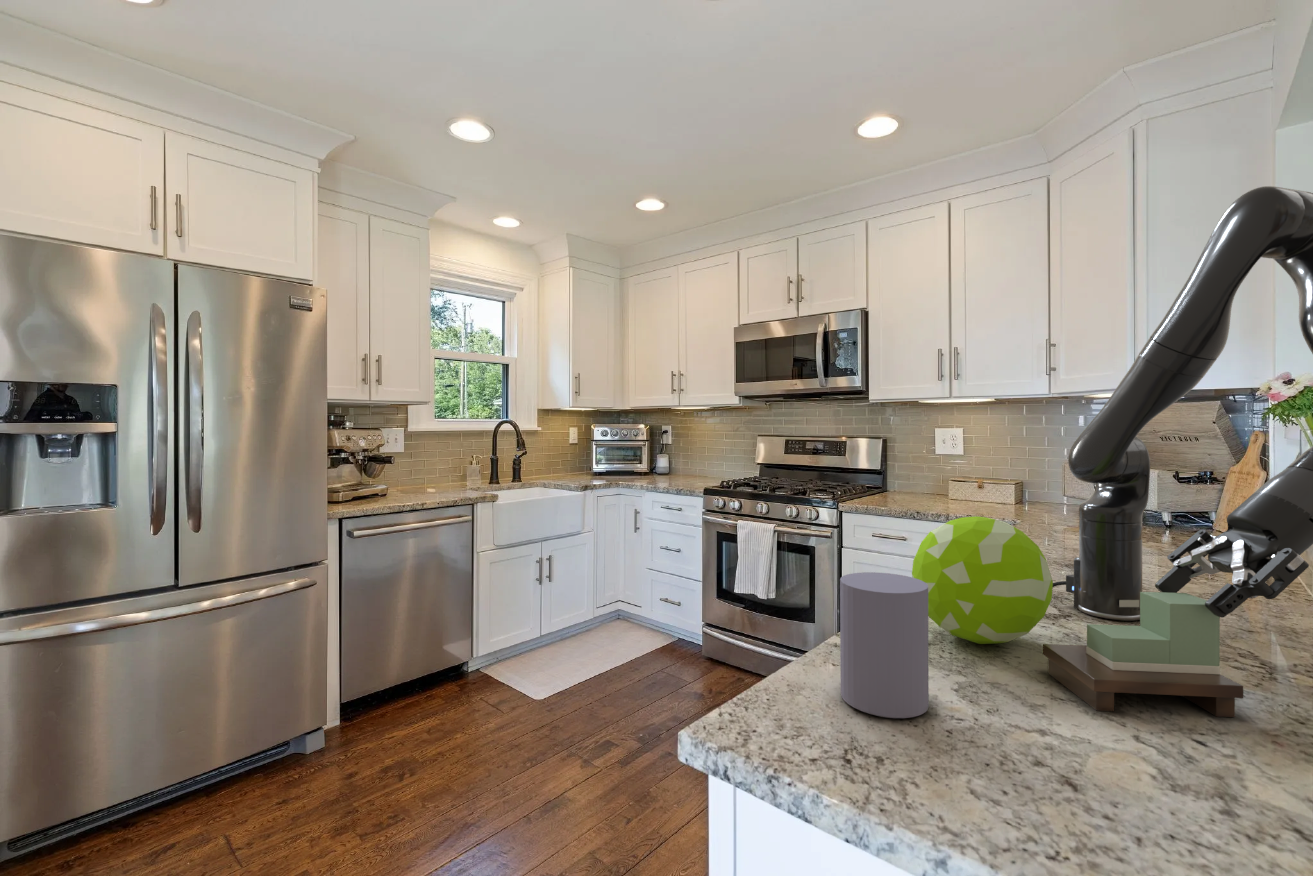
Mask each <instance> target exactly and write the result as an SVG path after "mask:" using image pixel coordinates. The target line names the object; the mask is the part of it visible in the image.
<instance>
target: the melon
mask: <svg viewBox="0 0 1313 876" xmlns="http://www.w3.org/2000/svg"><path fill="white" fill-rule="evenodd" d="M911 577H912V578H916V579H919V580H921V581H923V582H925V583H927V584H928V618H930V619H931V620H932V621H933V622H934V623H935V624H936V625H937V626H938V627H939V628H941V629H942V630H943V631H945V632H947V633H948V634H949V635H951V636H953V637H956V638H960V639H962V640H966V641H968V642H971V643H975V644H978V645H993V644H994V645H995V644H1003V643H1008V642H1011V641H1014V640H1016V639H1018V638H1021V637H1023V636H1025V635H1027V634H1029V633H1030V632H1031V631H1032V630H1033V629H1034V628H1035V627H1036V626H1037V624H1039V622H1041V621H1042V620H1043V618H1045V615H1046V613H1047V611H1048V609H1049V606H1050V604H1051V602H1052V600H1053V599H1052V598H1053V588H1054V587H1053V583H1054V581H1053V577H1052V574H1051V570H1050V567H1049V563H1048V560H1047V558H1046V557H1045V555H1044V553H1043V552H1042V549H1040V547H1039V545H1038V544H1037V543H1035V542H1034V541H1033V539H1031V537H1030V536H1028V535H1027V534H1026V533H1025V532H1024V531H1022V530H1021V529H1019V528H1017V527H1015V526H1013V525H1011V524H1010V523H1008V522H1006V521H1003V520H999V519H995V518H991V517H986V516H977V515H975V516H965V517H964V516H962V517H958V518H955V519H951V520H948V521H947V522H945V523H943V524H941V525H940V526H937V527H936V528H934V529H932V530H930V531H929V532H928V533H927V535H926V536H925V537H924V538H923V540H921V542H920V544H919V547H918V549H917V551H916V553H915V555H914V558H913V560H912V567H911ZM1052 587H1053V588H1052Z"/></svg>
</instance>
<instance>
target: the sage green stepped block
mask: <svg viewBox="0 0 1313 876" xmlns="http://www.w3.org/2000/svg"><path fill="white" fill-rule="evenodd" d="M1207 600H1208V599H1203V598H1201V597H1198V596H1195V595H1193V594H1190V593H1186V592H1177V593H1166V592H1160V591H1159V592H1158V591H1142V592H1140V620H1139V623H1140V624H1139V625H1126V624H1125V625H1124V624H1123V625H1121V624H1094V623H1093V624H1092V623H1088V624H1086V645H1087V646H1086V653H1087V654H1088V655H1090V656H1091V657H1093V658H1095V659H1096V660H1098V661H1099V662H1101V663H1103V664H1104V665H1106V666H1107V667H1109V668H1110V669H1112V670H1123V671H1147V672H1171V673H1195V674H1219V675H1221V666H1220V665H1221V662H1220V661H1221V660H1220V659H1221V655H1220V654H1221V652H1220V649H1221V644H1220V643H1221V641H1220V640H1221V635H1220V634H1221V633H1220V632H1221V630H1220V629H1221V625H1220V624H1221V617H1218V616H1216V615H1214V614H1213V613H1212V612H1211V611H1210V610H1209V609H1208V608H1207V607H1206V606H1205V602H1206V601H1207Z"/></svg>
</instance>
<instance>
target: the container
mask: <svg viewBox="0 0 1313 876" xmlns="http://www.w3.org/2000/svg"><path fill="white" fill-rule="evenodd" d="M839 599H840V600H839V617H840V618H839V623H840V624H839V627H840V628H839V629H840V630H839V632H840V633H839V635H840V639H839V641H840V642H839V643H840V644H839V645H840V648H839V650H840V654H839V655H840V656H839V657H840V661H839V663H840V667H839V669H840V697H841V698H842V699H843V701H844V702H845V703H846V704H847V705H849V706H850V707H852V708H854V709H856V710H857V711H859V712H862V713H864V714H867V715H871V716H875V717H879V718H884V719H909V718H915V717H919V716H921V715H923V714H924V713H926V712H927V711H928V710H929V708H930V706H929V705H930V704H929V701H930V699H929V698H930V697H929V696H930V695H929V691H930V690H929V616H928V584H927V583H925V582H923V581H921V580H919V579H916V578H912V576H907V575H903V574H898V573H888V572H876V571H875V572H874V571H873V572H871V571H870V572H866V571H865V572H863V571H862V572H852V573H849V574H848V573H847V574H844V575H842V576H841V577H840V579H839Z"/></svg>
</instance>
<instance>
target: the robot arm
mask: <svg viewBox="0 0 1313 876" xmlns="http://www.w3.org/2000/svg"><path fill="white" fill-rule="evenodd" d="M1261 258H1264V259H1270V260H1271V259H1272V260H1274V261H1275V262H1276V263H1277V264H1278V265H1279V266H1280V267H1281V268H1282V269H1283V270H1284V271H1285V272H1286V274H1287V275H1288V276H1289V278H1290V279H1291V280H1292V282H1293V284H1294V286H1295V289H1296V292H1297V295H1298V323H1299V328H1300V332H1301V334H1302V335H1301V336H1302V337H1303V339H1304V341H1305V343H1306V345H1307V347H1308V349H1309V351H1310V352H1311V354H1312V355H1313V192H1312V191H1311V192H1310V191H1307V190H1306V191H1305V190H1300V189H1294V188H1288V187H1279V186H1273V185H1267V186H1258V187H1256V188H1253V189H1251V190H1248V191H1247V192H1245V193H1243V194H1242V195H1241V196H1239V197H1238V198H1236V199H1235V200H1234V201H1233V202H1232V203H1231V204H1230V205H1229V206H1228V207H1227V209H1226V210H1225V211H1224V213H1223V214H1222V215H1221V217H1220V218H1219V220H1218V221H1217V224H1216V225H1215V226H1214V228H1213V230H1212V232H1211V234H1210V236H1209V238H1208V240H1207V242H1206V244H1205V245H1204V248H1203V250H1202V252H1201V254H1199V257H1198V259H1197V261H1196V263H1195V265H1194V267H1193V269H1192V271H1191V272H1190V274H1189V275H1188V278H1187V279H1186V281H1185V283H1184V284H1183V286H1182V288H1181V289H1180V290H1179V293H1178V294H1177V296H1176V297H1175V298H1174V300H1173V302H1172V304H1171V306H1170V307H1169V309H1168V310H1167V312H1166V313H1165V315H1164V316H1163V318H1162V319H1161V321H1160V322H1159V324H1158V325H1157V326H1156V328H1155V329H1154V330H1153V332H1152V334H1151V335H1150V336H1149V338H1148V339H1147V341H1146V342H1145V344H1144V345H1143V347H1142V349H1141V350H1140V351H1139V352H1138V355H1137V356H1136V358H1135V359H1134V361H1133V363H1132V365H1131V366H1130V367H1129V369H1128V371H1127V372H1126V374H1125V375H1124V376H1123V378H1122V379H1121V381H1120V382H1119V384H1118V385H1117V387H1116V388H1115V389H1114V391H1113V393H1111V396H1110V397H1109V398H1108V400H1107V401H1106V403H1105V404H1104V405H1103V406H1102V408H1101V409H1100V410H1099V412H1098V413H1097V414H1096V415H1095V416H1094V418H1093V419H1092V420H1091V421H1090V422H1089V424H1088V425H1087V426H1086V427H1085V428H1084V429H1083V430H1082V431H1081V433H1080V434H1079V435H1078V437H1077V438H1076V439H1075V440H1074V442H1073V444H1072V445H1071V447H1070V450H1069V453H1068V458H1067V459H1068V461H1067V463H1068V467H1069V470H1070V473H1071V474H1072V476H1074V478H1076V479H1077V480H1079V481H1081V482H1084V483H1089V484H1095V489H1094V491H1093V493H1092V495H1090V496H1089V498H1087V499H1085V500H1084V501H1082V502H1081V503H1080V504H1079V507H1078V556H1076V557H1074V558H1073V574H1066V575H1065V580H1063V581H1054V582H1053V587H1052V589H1053V588H1054V587H1058V586H1065V592H1066V593H1069V594H1073V608H1074V609H1077V610H1079V611H1080V612H1082V613H1085V614H1088V615H1090V616H1094V617H1097V618H1102V619H1107V620H1114V621H1125V622H1130V621H1140V592H1143V514H1144V512H1145V510H1146V508H1147V507H1148V503H1149V496H1150V495H1149V494H1150V482H1151V481H1150V479H1151V457H1150V453H1149V450H1148V448H1147V445H1146V444H1145V443H1144V441H1143V440H1142V439H1141V438H1139V437H1138V434H1139V433H1140V432H1141V431H1142V430H1143V429H1144V427H1146V425H1147V424H1148V423H1149V422H1151V421H1152V420H1153V419H1155V418H1156V417H1157V416H1158V415H1160V414H1161V413H1162V412H1164V411H1165V410H1167V409H1168V408H1170V407H1171V406H1172V405H1174V404H1175V403H1176V402H1178V401H1179V400H1181V399H1182V398H1183V397H1184V396H1186V395H1187V394H1188V393H1189V392H1191V391H1192V390H1193V389H1194V388H1195V387H1196V386H1197V385H1198V384H1199V383H1200V382H1201V381H1202V380H1203V378H1204V377H1205V376H1206V375H1207V373H1208V372H1209V370H1210V369H1211V368H1212V366H1213V365H1214V364H1215V362H1217V360H1218V359H1219V358H1220V355H1221V354H1222V352H1223V351H1224V349H1225V347H1226V345H1227V341H1228V338H1229V334H1230V327H1231V326H1230V325H1231V318H1232V317H1231V315H1232V307H1233V303H1234V299H1235V297H1236V294H1237V292H1238V290H1239V289H1240V286H1241V285H1242V283H1243V282H1244V281H1245V279H1246V278H1247V276H1248V275H1249V274H1250V272H1251V271H1252V269H1253V268H1254V267H1255V265H1256V264H1257V262H1258V261H1260V259H1261ZM1226 524H1227V529H1226V530H1225V531H1223V532H1222V533H1220V534H1217V535H1212V534H1211V533H1210V532H1209V531H1207V530H1206V529H1199V530H1197V531H1196V532H1195V533H1194V534H1193V535H1191V536H1190V537H1188V539H1186V540H1185V541H1184V542H1183V543H1181V545H1179V546H1177V548H1175V549H1174V550H1173V551H1172V552H1171V553H1169V554H1168V555H1167V557H1166V558H1167V560H1168V561H1170V563H1171V564H1172V565H1173V566H1172V568H1171V569H1170V570H1169V571H1167V572H1166V573H1165V574H1164V575H1163V576H1162V577H1161V578H1160V579H1159V580H1158V581H1156V583H1155V584H1154V587H1155V589H1157V590H1158V591H1159V592H1166V593H1179V591H1181V589H1182V588H1185V586H1186V585H1187V584H1189V582H1191V581H1192V579H1193V578H1196V577H1199V576H1202V575H1204V574H1208V575H1215V574H1219V573H1221V572H1222V573H1225V574H1232V577H1231V583H1226V584H1225V585H1223V586H1222V587H1221V588H1220V589H1219V590H1218V591H1217V592H1215V593H1214V594H1213V595H1212V596H1211V597H1210V598H1208V599H1206V600H1207V601H1206V602H1205V606H1206V607H1207V608H1208V609H1209V610H1210V611H1211V612H1212V613H1213V614H1214V615H1216V616H1218V617H1220V619H1221V618H1225V617H1227V616H1228V615H1230V614H1231V613H1233V612H1234V611H1235V610H1236V609H1237V608H1238V607H1239V606H1241V605H1242V604H1243V603H1245V602H1246V601H1247V600H1248V599H1251V600H1252V599H1256V598H1258V597H1264V598H1265V599H1266V600H1273V599H1276V598H1277V597H1279V595H1280V594H1281V593H1283V591H1285V590H1286V589H1287V588H1288V587H1289V586H1290V585H1291V584H1292V583H1293V582H1294V581H1295V580H1296V579H1297V578H1298V577H1300V575H1301V574H1303V573H1304V572H1305V571H1306V570H1307V569H1308V568H1309V566H1310V564H1309V563H1308V562H1307V561H1306V560H1305V559H1304V558H1303V557H1302V556H1301V555H1302V554H1303V553H1305V552H1306V551H1307V550H1308V549H1309V548H1310V547H1311V546H1313V445H1312V446H1311V447H1309V448H1308V449H1306V450H1305V451H1304V452H1303V453H1302V454H1301V455H1299V456H1298V457H1297V458H1295V460H1294V461H1292V462H1291V463H1290V464H1289V465H1288V466H1286V467H1285V468H1284V469H1283V470H1282V471H1281V472H1279V473H1277V474H1276V475H1274V476H1273V477H1271V478H1269V479H1268V480H1267V481H1266V482H1265V483H1263V484H1262V486H1260V487H1259V488H1258V489H1257V490H1255V491H1254V492H1253V493H1252V494H1251V495H1250V496H1249V497H1248V498H1246V499H1245V500H1244V501H1243V502H1242V503H1241V504H1239V505H1238V506H1237V507H1236V508H1235V509H1233V511H1231V512H1230V513H1229V514H1228V515H1227V517H1226ZM1186 553H1188V554H1189V555H1185V554H1186ZM1184 555H1185V556H1184ZM1205 557H1207V559H1206V558H1205ZM1197 564H1198V566H1196V565H1197ZM1270 578H1272V579H1274V580H1273V582H1271V584H1270V585H1269V584H1268V583H1267V582H1268V581H1269V580H1270Z"/></svg>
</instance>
